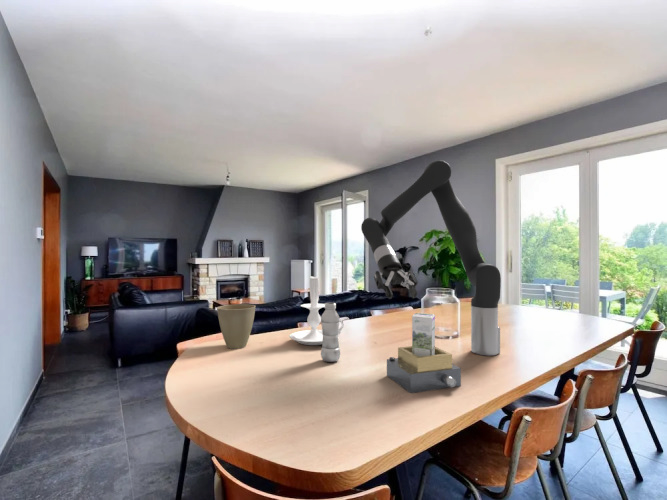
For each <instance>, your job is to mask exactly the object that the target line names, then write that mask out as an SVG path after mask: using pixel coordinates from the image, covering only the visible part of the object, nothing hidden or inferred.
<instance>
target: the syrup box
mask: <svg viewBox="0 0 667 500" xmlns="http://www.w3.org/2000/svg"><path fill="white" fill-rule="evenodd" d="M411 323H412V324H411V326H412V327H411V335H412V337H411V346H412V353H413V354H415V355H417V356H419V357H420V356H429V355H435V347H436V346H435V344H436V315H435V314H434V313H421V312H415V313H413V315H412V316H411Z"/></svg>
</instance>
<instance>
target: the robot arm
mask: <svg viewBox="0 0 667 500" xmlns="http://www.w3.org/2000/svg"><path fill="white" fill-rule="evenodd" d="M451 177H452V167H451V166H450V164H449V163H448V162H446V161H445V160H434V161H432V162H431V163H429V164H428V165H427V166H426V167H425V169H424V172H423V173H422V174H421V175H420V176H419V178H417V180H416V181H414V183H413V184H411V186H409V187H408V188H406V190H404V191H403V192H402V193H400V194H399V195H398V196H397V197H396V198H394V199H393V200H392V201H390V203H388V204H387V205H386V206H385V207H384V208H382V210H381V212H380V214H381V217H382V219H381V220H380V222H379V221H378V219H376V218H374V217H367V218H365V219H363V220H362V223H361V226H360V227H361V232H362V234H363V236H364V238H365V240H366V242H367V243H368V244H369V246H370V248H371V251H372V254H373V256H374V260H375V263H376V266H377V268H378V270H376V271H375V273H374V275H373V278H374V281H375V282H374V283H375V285H376V288H377V290H383V291H384V293H385V296H386V297H387V298H388V300H392V299H393V297H394V294H393V291H392V289H391V287H390V284H391V285H392V286H393V285H400V286H402V287H406V289H408V291H409V293H410V296H411V298H412V299H416V297H417V295H418V291H417V289H416V288H417V286H418V284H419V281H418V279H417V278H416V276H415V274H414V272H413V271H412V270H411V269H410V270H408V271H407V272H405V271H404V270H403V267H402V264H401V262H400V260H399V258H398V256H397V254H396V252H395V250H394V249H393V247H392V245H391V243H390V241H389V239H388V238H387V235H389V233H390V231H391V230H392V228H393V227H394V226H395V224H396V223H397V222H398V221H400V220H401V219H402V218H403V217H404V216H405V215H406V214H407V213H408V212H409V211H410V210H411V209H412V208H413V207H414V206H415V205H417V204H418V203H419V202H420V201H421V200H422V199H423V198H424V197H426V196H427V195H429V194H430V193H431V194H432V195H433V197H434V199H435V201H436V203H437V206H438V209H439V211H440V215H441V217H442V220H443V221H444V224H445V228H446V229H447V231H448V233H449V234H448V235H449V236H450V237H451V240H452V241H453V243H454V244H453V245H454V246H455V248H456V251H457V252H458V254H459V256H460V258H461V261H462V263H463V264H462V265H463V268H464V271H465V274H466V277H467V279H468V281H469V282H470V284H471V285H473V286H474V287H475V293H474V294H475V295H474V296H473V297H472V298H471V300H470V307H471V308H470V311H471V312H470V316H471V317H470V322H471V323H470V326H471V327H470V328H471V329H470V330H471V331H470V333H471V334H470V335H471V338H470V341H471V343H470V344H471V345H470V346H471V347H470V348H471V353H474V354H477V355H480V356H481V355H482V356H497V355H498V354H501V328H500V327H499V311H498V310H499V302H500V300H501V288H502V287H501V285H502V280H501V279H502V278H501V277H502V275H501V272H500V270H499V269H498V267H497V266H496V265H494V264H492V263H486V262H485V261H484V259H483V257H482V256H481V253H480V251H479V248H478V240H477V239H478V238H477V237H478V236H477V230H476V227H475V224H474V222H473V220H472V217H471V216H470V213H469V211H468V210H467V209H466V207H465V206H464V204H463V203H462V201H461V200H460V199H459V197H457V195H456V193H455V191H454V188H453V186H452V184H451V183H452V182H450V178H451ZM383 280H385V283H383Z"/></svg>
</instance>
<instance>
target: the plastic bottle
mask: <svg viewBox="0 0 667 500" xmlns="http://www.w3.org/2000/svg"><path fill="white" fill-rule="evenodd" d="M324 304H325V307H324V309H325V310H324V311H323V313H322V315H320V317H321V322H320V324H321V325H320V326H321V330H322V334H323V340H322V344H321V349H320V350H321V351H320V356H321V359H322V361H324V362H327V363H333V362H338V361H339V360H340V357H341V349H340V345H339V344H340V343H339V337H338V329H340V327H339V326H340V322H339V321H340V320H341V318H340V316H339V314H338V312H337V310H336V309H337V303H336V302H325V303H324Z"/></svg>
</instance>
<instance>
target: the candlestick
mask: <svg viewBox="0 0 667 500" xmlns="http://www.w3.org/2000/svg"><path fill="white" fill-rule="evenodd" d="M319 282H320V278H319V277H317V275H314V276H312V275H311V276H309V299H310V303H303V304H300V307H302V308H306V309H308V310H309V314H308V316H307V319H306V320H307V324H308V325H309V326H310V327H311V329H305V330H299V331H295V332H292V333H290V334H289V338H290V339H291V340H293V341H294V342H296V343H299V344H301V345H306V346H322V340H323V334H322V329H318V326H320V324H321V315H320V314H319V310H320V309H322V308H325V303H319V301H320V298H319V297H320V295H319V294H320V291H319V289H320V285H319V284H320V283H319ZM344 321H345V319H344V318H341V319H340V321H339V323H340V324H341V327H339V329H338V338H339V337H340V334H341V331H343V328H344V325H345V324H344Z"/></svg>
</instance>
